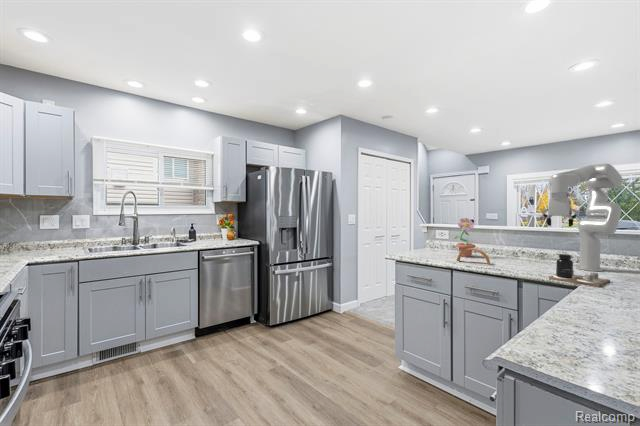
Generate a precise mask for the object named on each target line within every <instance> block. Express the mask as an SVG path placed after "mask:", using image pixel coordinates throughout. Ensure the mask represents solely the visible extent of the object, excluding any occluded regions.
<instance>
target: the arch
mask: <svg viewBox="0 0 640 426" xmlns="http://www.w3.org/2000/svg"><path fill="white" fill-rule="evenodd" d="M469 250H472V252H473V251H474V252H477V253H479V254H481V255H482V256H483V258H484V259H485V260H486V265H487V264H489V265H491V261H490V258H489V256H488V254H487V253H486V252H485V251H483V250H482V249H479V248H476V247H475V248H469V249H466V250H464V251H462V252H461V253H460V254H459V253H458V256H457V258H456V262H457V261H459V262H460V260H461V257H462V256H461V255H462V254H463V253H464V252H466V251H469Z"/></svg>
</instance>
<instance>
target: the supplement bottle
mask: <svg viewBox="0 0 640 426" xmlns="http://www.w3.org/2000/svg"><path fill="white" fill-rule="evenodd" d="M558 254H559V255H558V258H557V259H556V264H555V265H556V266H555V267H556V268H555V270H556V272H555V275H556V276H557V277H561V278H572V277H573V270H574V261H573V260H572V258H571V257H572V255H571V254H568V253H558Z"/></svg>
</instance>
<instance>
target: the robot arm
mask: <svg viewBox="0 0 640 426" xmlns="http://www.w3.org/2000/svg"><path fill="white" fill-rule="evenodd" d="M623 181H624V180H623V177H622V175H621V174H620V172H619V171H618V170H617V169H616V167H614V166H613V165H611V164H609V163H598V164H597V163H596V164H588V165H586V166H583V167H580V168H577V169H572V170H568V171H563V172H558V173H556V174H553V175H551V176H550V178H549V179H548V183H549V186H550V187H551V188H550V189H551V190H550V196H551V197H550V198H549V201H548V208H546V209H544V210H542V211H541V214H542V215H543V217H544V218H545V219H546V225H547V226H548V227H551V226H552V219H551V218H552V217H553V216H554V217H568V227H573V226H574V219H576V218H577V217H578V215H579V213H580V211H579V210H576V209H574V208H572V202H571V201H572V200H571V198H570V197H571V196H572V193H570V192H569V188H572V187H576V186H579V185H580V184H581V183H585V186H586V189H587V191H588V193H589V199H588V202H587V206H586V209H585V215H586V216H587V217H586V218H585V217H584V218H582V219H580V220H579V221H578V222H577V230H578V231H579V232H578V233H579V259H578V260H579V263H578V264H579V265H576V267H575V268H576V269H578V270H582V271H591V272H604V268H602V267H601V245H602V244H601V243H602V242H601V240H600V237H598V236H597V235H605V236H606V235H607V236H609V235H610V236H611V235H613V234H615V233H616V231H617V229H618V226H619V222H620V219H621V215H622V207H621V205H620V204H618V203H617V202H608V200H609V195H607V193H606V192H605V191H604V190H602V189H616V188H620V187H621V186H622V185H623ZM546 213H547V214H546ZM573 213H574V214H573Z"/></svg>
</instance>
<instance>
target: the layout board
mask: <svg viewBox="0 0 640 426" xmlns="http://www.w3.org/2000/svg"><path fill="white" fill-rule="evenodd" d="M548 280H552V281H557V282H565V283H569V284H570V283H571V284H575V285H583V286H587V285H589V286H588V287H594V286H595V287H594V288H600V287H603V286H605V285H607V284H609V283H611V279H609V278H602V277H599V273H597V272H590V274H584V275H582V274H576V273H574V269H573V277H572V278H561V277H557V276H556V274H554V275H551V276H549V277H548Z"/></svg>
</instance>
